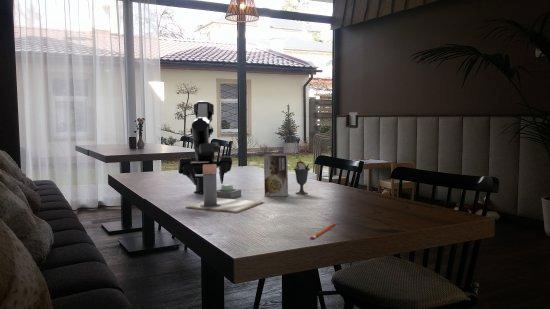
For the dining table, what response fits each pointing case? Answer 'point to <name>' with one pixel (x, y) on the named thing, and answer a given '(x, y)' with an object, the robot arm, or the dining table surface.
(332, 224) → the pencil
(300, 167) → the sundae
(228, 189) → the button
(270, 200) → the dining table surface
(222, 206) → the board
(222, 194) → the button collar
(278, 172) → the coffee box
